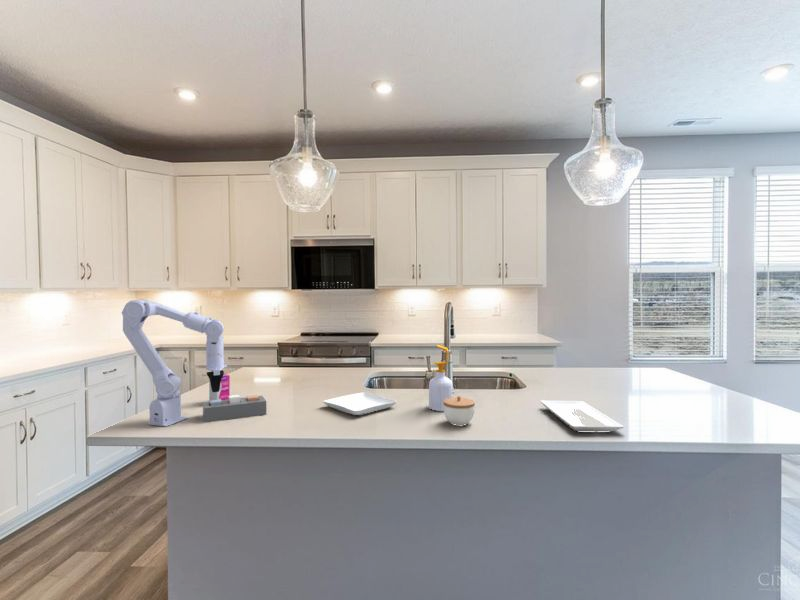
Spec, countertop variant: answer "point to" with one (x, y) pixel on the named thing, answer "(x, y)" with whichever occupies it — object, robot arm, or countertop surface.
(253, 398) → the terracotta key
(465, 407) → the lidded jar
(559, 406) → the tray
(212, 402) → the slate key
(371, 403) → the salad plate
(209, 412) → the grey socket block
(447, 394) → the soap bottle
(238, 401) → the white key
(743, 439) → the countertop surface
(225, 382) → the supplement box
